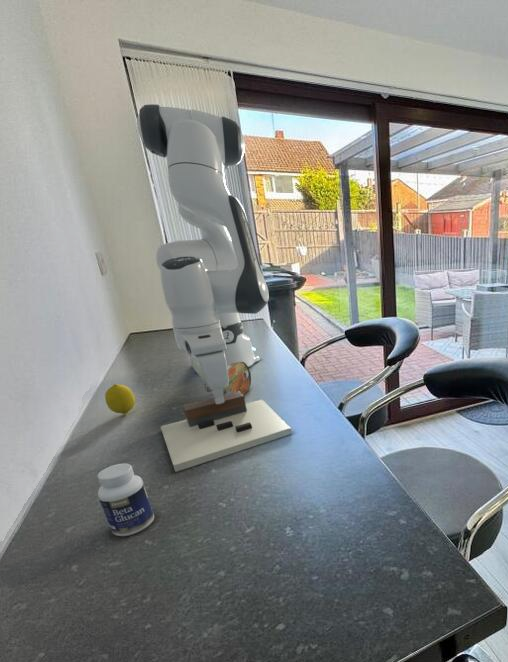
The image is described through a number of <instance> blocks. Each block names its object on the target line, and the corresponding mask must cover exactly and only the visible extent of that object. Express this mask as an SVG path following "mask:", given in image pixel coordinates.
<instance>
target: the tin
mask: <svg viewBox="0 0 508 662" xmlns="http://www.w3.org/2000/svg"><path fill="white" fill-rule="evenodd" d="M227 369H228V377H229V384H228V386H227V387H225V388H223V395H225V394H229V393H233V392H237V391H240V393H241V394H242V395H243V396H244V395H245V394H246V393H247V392H248V391H249V390H250V388H251V384H252V375H251V371H250V368H249V367H248V366H247V365H246V363H244V362H237V363H232V364H230V365H229V366H227Z"/></svg>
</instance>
